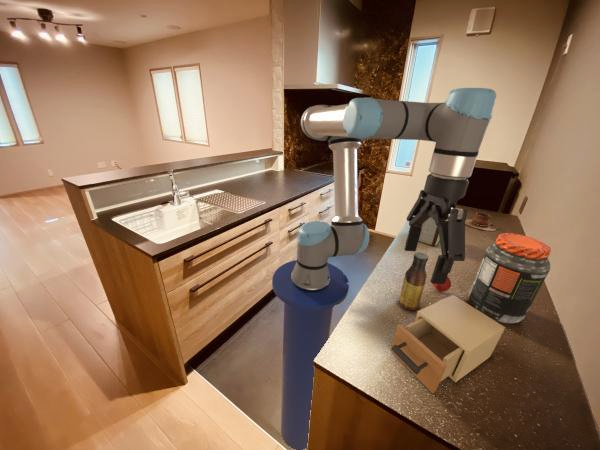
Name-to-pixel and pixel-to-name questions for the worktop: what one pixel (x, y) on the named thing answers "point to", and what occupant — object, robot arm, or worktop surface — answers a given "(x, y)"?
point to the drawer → (426, 352)
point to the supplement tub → (510, 277)
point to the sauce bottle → (414, 282)
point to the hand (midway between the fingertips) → (422, 265)
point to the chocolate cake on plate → (480, 221)
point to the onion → (443, 285)
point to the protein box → (429, 232)
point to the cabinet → (464, 331)
